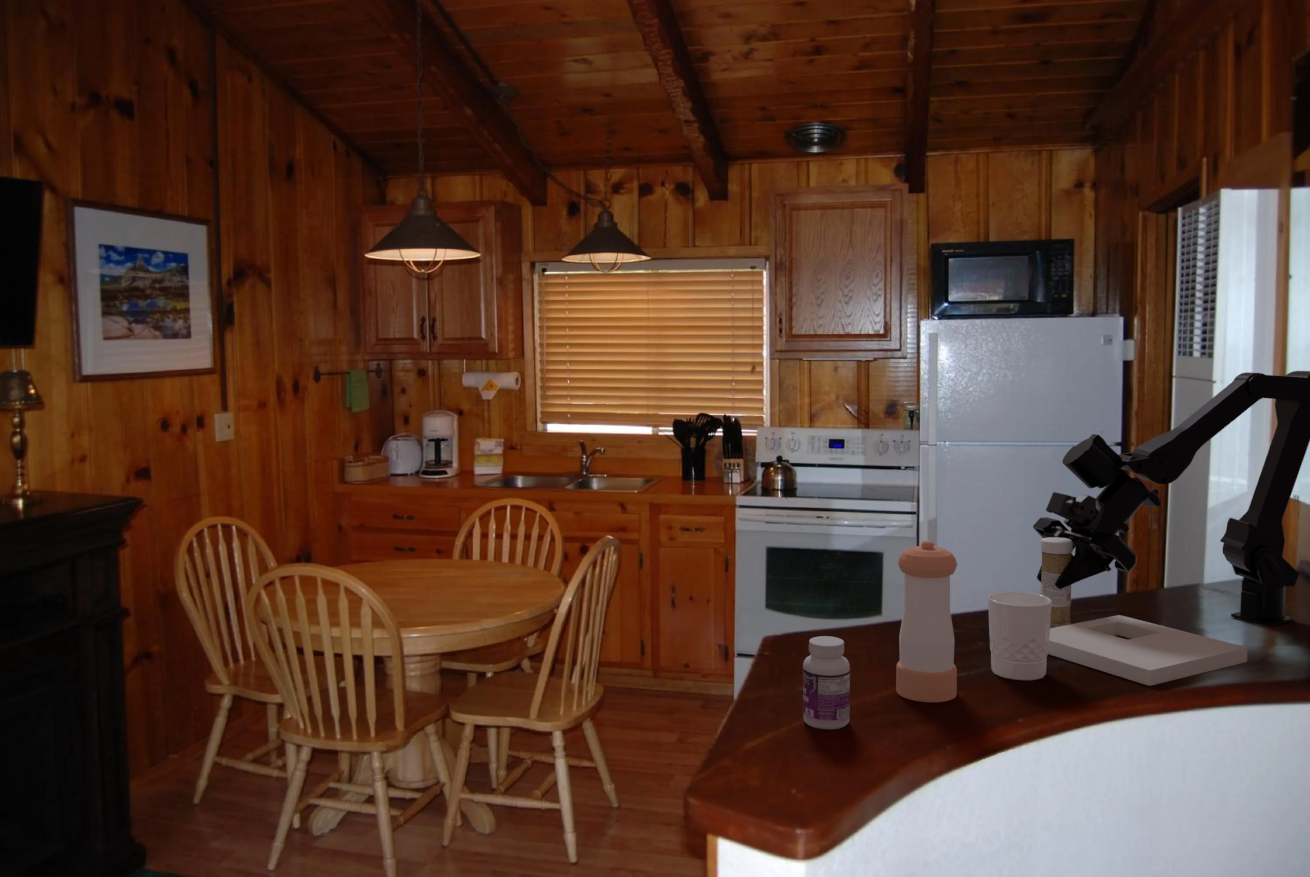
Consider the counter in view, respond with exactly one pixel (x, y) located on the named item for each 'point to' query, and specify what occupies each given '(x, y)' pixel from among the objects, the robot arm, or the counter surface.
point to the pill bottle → (826, 684)
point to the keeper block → (1141, 649)
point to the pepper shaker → (927, 626)
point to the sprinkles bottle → (1056, 577)
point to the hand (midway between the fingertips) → (1047, 583)
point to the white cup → (1019, 634)
